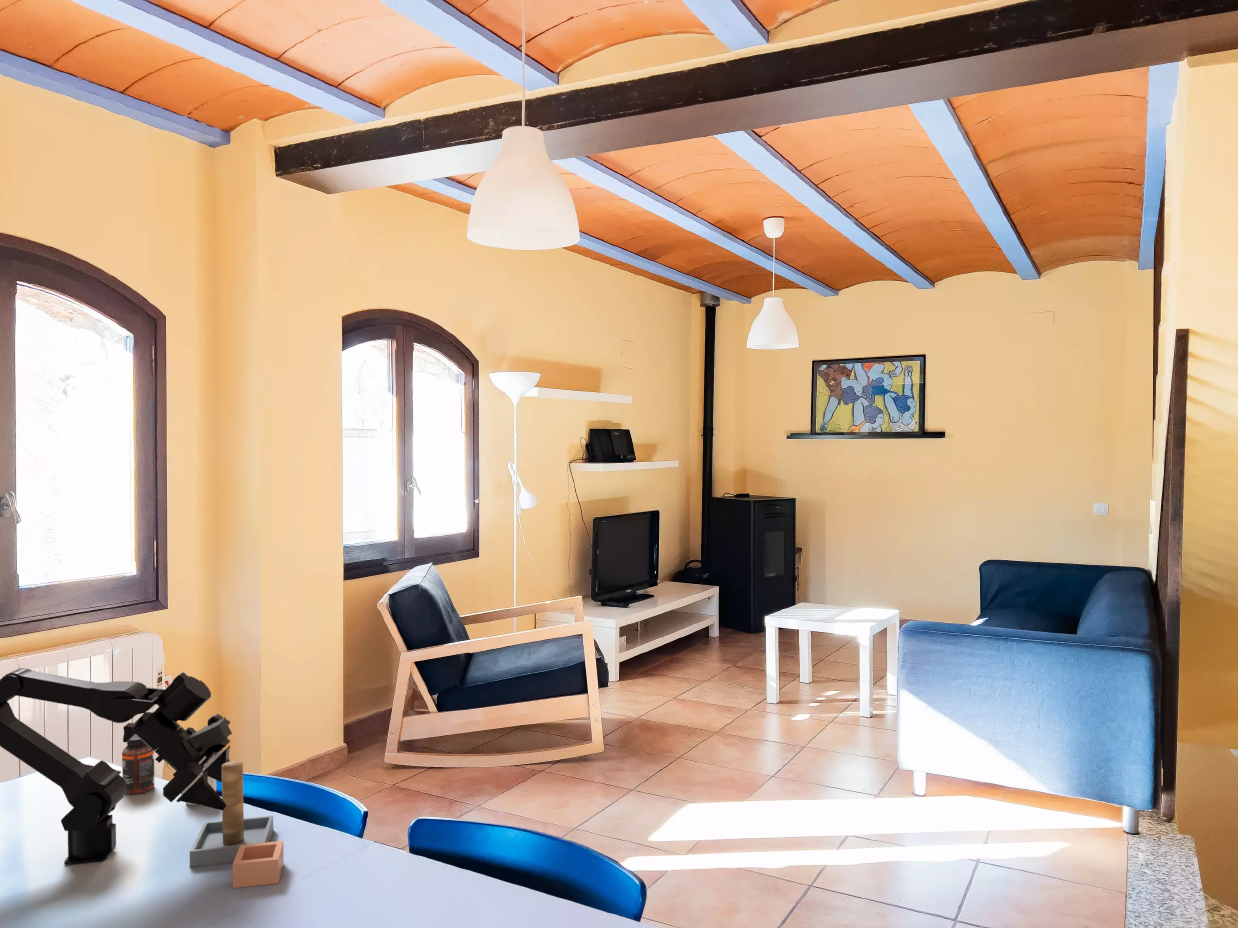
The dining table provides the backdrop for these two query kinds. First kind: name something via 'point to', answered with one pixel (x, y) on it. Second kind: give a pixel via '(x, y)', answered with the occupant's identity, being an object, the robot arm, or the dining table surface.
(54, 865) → the dining table surface
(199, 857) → the tray
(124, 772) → the supplement bottle
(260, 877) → the terracotta socket
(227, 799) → the oak dowel
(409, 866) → the dining table surface
